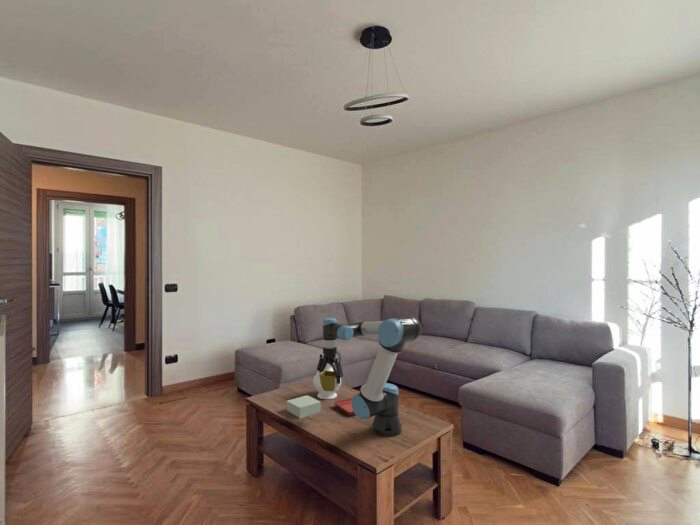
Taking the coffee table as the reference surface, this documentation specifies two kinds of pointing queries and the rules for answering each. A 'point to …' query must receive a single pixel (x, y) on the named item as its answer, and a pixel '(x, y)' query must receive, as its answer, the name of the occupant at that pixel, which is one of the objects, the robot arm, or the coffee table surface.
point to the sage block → (303, 406)
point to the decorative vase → (317, 385)
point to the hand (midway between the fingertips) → (329, 386)
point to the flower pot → (328, 380)
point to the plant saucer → (345, 406)
